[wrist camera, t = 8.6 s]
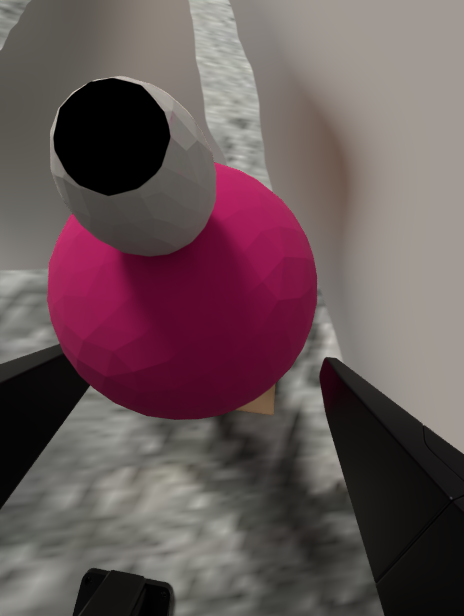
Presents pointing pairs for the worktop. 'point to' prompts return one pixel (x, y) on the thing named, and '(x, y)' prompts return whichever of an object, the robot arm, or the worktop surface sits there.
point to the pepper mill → (170, 260)
